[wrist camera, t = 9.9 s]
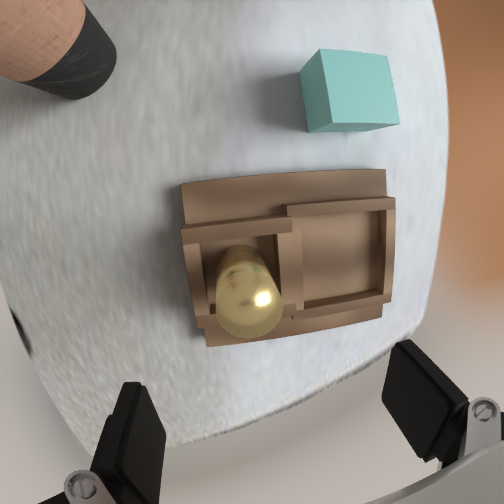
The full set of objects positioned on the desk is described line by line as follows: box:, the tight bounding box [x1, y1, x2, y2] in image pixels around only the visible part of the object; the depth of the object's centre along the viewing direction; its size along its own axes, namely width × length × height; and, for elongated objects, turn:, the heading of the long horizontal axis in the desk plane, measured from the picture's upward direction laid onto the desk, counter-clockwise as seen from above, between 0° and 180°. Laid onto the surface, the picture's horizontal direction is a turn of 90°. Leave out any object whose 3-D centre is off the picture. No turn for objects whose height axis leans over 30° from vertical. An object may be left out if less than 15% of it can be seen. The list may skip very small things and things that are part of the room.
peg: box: [216, 244, 283, 339], centre depth 21 cm, size 4×4×8 cm
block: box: [299, 49, 400, 133], centre depth 21 cm, size 6×6×6 cm
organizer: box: [180, 169, 396, 347], centre depth 25 cm, size 15×18×4 cm
